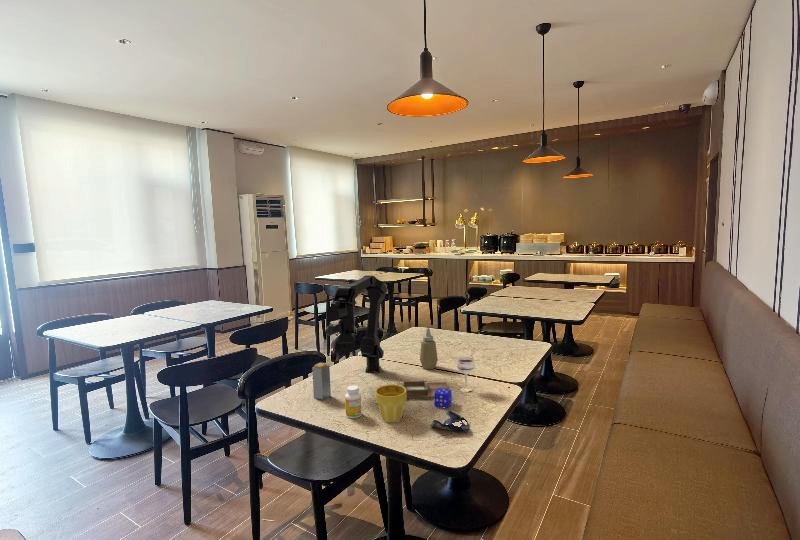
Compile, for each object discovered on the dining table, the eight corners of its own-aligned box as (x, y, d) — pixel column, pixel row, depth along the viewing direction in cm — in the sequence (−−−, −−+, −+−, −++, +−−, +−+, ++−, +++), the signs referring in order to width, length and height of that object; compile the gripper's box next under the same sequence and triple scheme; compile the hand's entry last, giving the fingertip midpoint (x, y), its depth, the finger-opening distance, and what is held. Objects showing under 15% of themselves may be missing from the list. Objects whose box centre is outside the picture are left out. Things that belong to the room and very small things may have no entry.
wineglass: (478, 389, 162) (478, 359, 161) (468, 394, 157) (468, 363, 156) (463, 385, 167) (463, 356, 165) (453, 390, 162) (453, 360, 160)
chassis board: (396, 385, 168) (396, 378, 168) (446, 384, 168) (446, 377, 168) (395, 399, 154) (395, 392, 154) (450, 398, 154) (450, 390, 154)
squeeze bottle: (441, 366, 190) (440, 327, 188) (432, 371, 183) (431, 331, 182) (425, 363, 195) (424, 325, 193) (416, 368, 188) (415, 329, 186)
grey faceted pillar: (321, 393, 162) (320, 361, 161) (330, 396, 160) (329, 363, 158) (313, 398, 158) (312, 365, 157) (322, 400, 156) (321, 366, 155)
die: (448, 408, 146) (448, 394, 145) (434, 407, 148) (434, 393, 147) (451, 403, 151) (451, 389, 150) (438, 401, 152) (437, 388, 152)
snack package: (440, 417, 140) (424, 431, 130) (443, 399, 139) (427, 412, 129) (474, 431, 134) (460, 447, 124) (477, 412, 133) (463, 427, 123)
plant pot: (382, 428, 133) (381, 398, 132) (371, 415, 142) (370, 387, 141) (412, 421, 137) (411, 392, 136) (399, 409, 146) (398, 382, 145)
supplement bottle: (347, 411, 146) (346, 384, 145) (362, 411, 145) (361, 384, 144) (344, 418, 140) (343, 390, 139) (360, 418, 140) (359, 390, 139)
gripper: (329, 313, 176) (330, 349, 177) (323, 321, 158) (324, 362, 159) (356, 312, 177) (357, 349, 178) (353, 321, 158) (354, 361, 159)
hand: (348, 355), depth 168 cm, fingers open, 9 cm apart
